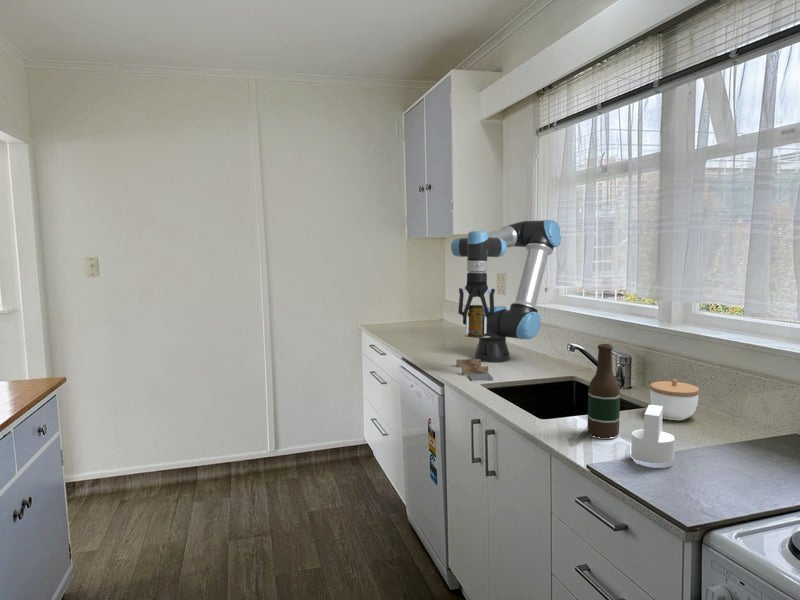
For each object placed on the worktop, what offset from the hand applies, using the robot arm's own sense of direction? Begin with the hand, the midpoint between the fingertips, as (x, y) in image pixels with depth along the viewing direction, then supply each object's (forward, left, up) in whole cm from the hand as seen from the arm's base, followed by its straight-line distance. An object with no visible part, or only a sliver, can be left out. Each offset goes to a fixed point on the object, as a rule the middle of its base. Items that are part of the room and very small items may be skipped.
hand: (475, 333), depth 211 cm
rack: (0, -9, -17) cm, 19 cm away
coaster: (-1, +4, -17) cm, 17 cm away
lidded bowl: (-47, +56, -17) cm, 75 cm away
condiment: (0, 0, -2) cm, 2 cm away
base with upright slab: (-25, +87, -17) cm, 92 cm away
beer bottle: (-21, +69, -17) cm, 74 cm away
